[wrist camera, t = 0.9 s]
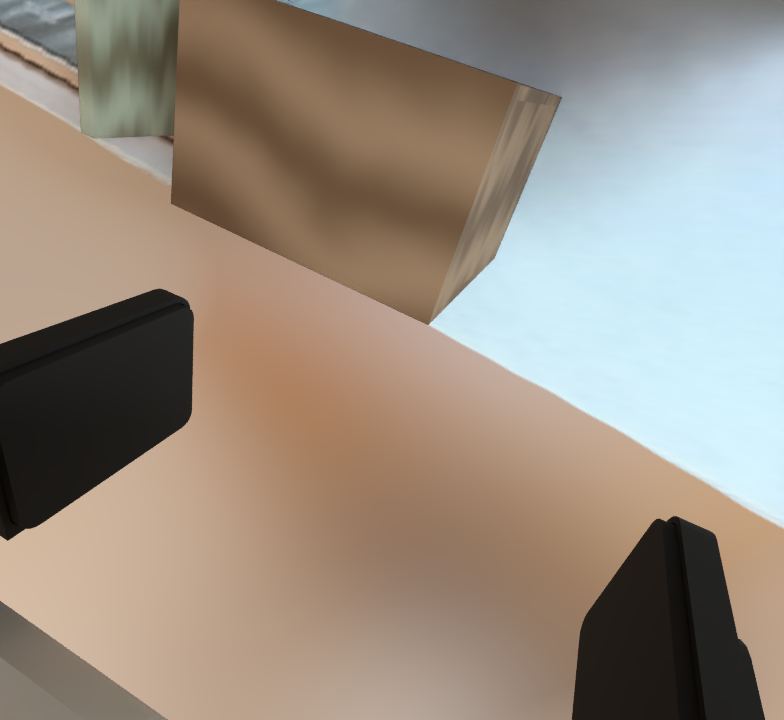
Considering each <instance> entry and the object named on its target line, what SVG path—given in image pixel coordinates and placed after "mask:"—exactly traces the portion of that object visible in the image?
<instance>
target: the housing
mask: <svg viewBox="0 0 784 720" xmlns="http://www.w3.org/2000/svg"><path fill="white" fill-rule="evenodd" d="M561 98H562V97H559V96H556V95H553V94H550V93H547V92H544V91H542V90H539V89H536V88H533V87H530V86H527V85H524V84H521V83H518V82H515V81H512V80H509V79H506V78H503V77H501V76H498V75H495V74H492V73H489V72H486V71H483V70H480V69H477V68H474V67H471V66H468V65H465V64H462V63H460V62H457V61H454V60H451V59H448V58H445V57H442V56H439V55H436V54H433V53H430V52H427V51H424V50H422V49H419V48H416V47H413V46H410V45H407V44H404V43H401V42H398V41H395V40H392V39H389V38H386V37H383V36H381V35H378V34H375V33H372V32H369V31H366V30H363V29H360V28H357V27H354V26H351V25H348V24H345V23H342V22H340V21H337V20H334V19H331V18H328V17H325V16H322V15H319V14H316V13H313V12H309V11H306V10H303V9H300V8H297V7H294V6H291V5H288V4H285V3H282V2H279V1H276V0H180V3H179V26H178V50H177V74H176V98H175V121H174V145H173V169H172V193H171V204H173V205H175V206H177V207H179V208H182V209H184V210H186V211H188V212H190V213H192V214H194V215H196V216H198V217H201V218H203V219H205V220H207V221H209V222H211V223H213V224H216V225H218V226H220V227H222V228H224V229H226V230H228V231H230V232H232V233H234V234H237V235H239V236H241V237H243V238H245V239H247V240H249V241H251V242H253V243H256V244H258V245H260V246H262V247H264V248H266V249H269V250H270V251H272V252H275V253H277V254H279V255H281V256H283V257H285V258H287V259H290V260H292V261H294V262H296V263H298V264H300V265H302V266H304V267H306V268H308V269H311V270H313V271H315V272H317V273H319V274H321V275H323V276H326V277H327V278H330V279H332V280H334V281H336V282H338V283H340V284H342V285H344V286H347V287H349V288H351V289H353V290H355V291H357V292H359V293H361V294H363V295H366V296H368V297H370V298H372V299H374V300H376V301H378V302H380V303H382V304H385V305H387V306H389V307H391V308H393V309H395V310H397V311H399V312H402V313H404V314H406V315H408V316H410V317H412V318H414V319H416V320H418V321H421V322H423V323H425V324H427V325H429V324H430V323H431V322H432V321H433V320H434V319H435V318H436V317H437V316H438V315H439V314H440V313H441V312H442V311H443V310H444V309H445V307H446V306H447V305H448V304H449V303H450V302H451V301H452V300H453V299H454V298H455V297H456V296H457V295H458V294H459V293H460V292H461V291H462V290H463V289H464V288H465V287H466V286H467V285H468V284H469V283H470V282H471V281H472V280H473V279H474V278H475V277H476V276H477V275H478V274H479V273H480V272H481V271H482V270H483V269H484V268H485V267H486V266H487V265H488V264H489V263H490V262H491V261H492V260H493V259H494V258H495V256H496V253H497V251H498V248H499V246H500V244H501V241H502V239H503V237H504V234H505V232H506V229H507V227H508V225H509V222H510V220H511V217H512V215H513V213H514V210H515V208H516V206H517V203H518V201H519V198H520V196H521V194H522V191H523V189H524V186H525V184H526V182H527V179H528V177H529V174H530V172H531V170H532V167H533V165H534V163H535V160H536V158H537V155H538V153H539V151H540V148H541V146H542V143H543V141H544V139H545V136H546V134H547V131H548V129H549V127H550V124H551V122H552V120H553V117H554V115H555V112H556V110H557V108H558V105H559V103H560V100H561Z"/></svg>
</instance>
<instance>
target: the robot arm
mask: <svg viewBox="0 0 784 720" xmlns="http://www.w3.org/2000/svg"><path fill="white" fill-rule="evenodd" d="M193 323H194V316H193V312H192V310H190V305H189V303H188V301H187V300H185V299H184V298H182V297H179V296H177V295H175V294H173V293H171V292H168V291H166V290H163V289H155V290H152V291H149V292H146V293H143V294H141V295H138V296H135V297H133V298H130V299H126V300H124V301H121V302H118V303H115V304H112V305H109V306H107V307H104V308H101V309H98V310H95V311H92V312H90V313H87V314H84V315H81V316H78V317H75V318H73V319H70V320H67V321H64V322H62V323H59V324H56V325H53V326H50V327H47V328H45V329H42V330H39V331H36V332H33V333H30V334H27V335H24V336H22V337H19V338H16V339H13V340H10V341H7V342H5V343H2V344H0V536H2V537H3V538H4V539H6V540H7V541H8V540H10V539H11V538H13V537H14V536H16V535H17V534H18V533H20V532H21V531H23V530H24V529H30V528H33V527H36V526H38V525H40V524H41V523H43V522H44V521H46V520H47V519H49V518H50V517H52V516H53V515H55V514H56V513H58V512H59V511H61V510H62V509H63V508H65V507H66V506H68V505H69V504H71V503H72V502H74V501H75V500H76V499H78V498H80V497H81V496H82V495H84V494H85V493H87V492H88V491H90V490H91V489H93V488H94V487H96V486H97V485H98V484H100V483H101V482H103V481H104V480H106V479H107V478H109V477H110V476H112V475H113V474H115V473H116V472H118V471H119V470H120V469H122V468H123V467H125V466H126V465H128V464H129V463H131V462H132V461H134V460H135V459H137V458H138V457H140V456H141V455H142V454H144V453H145V452H147V451H148V450H150V449H151V448H153V447H154V446H156V445H157V444H159V443H160V442H161V441H163V440H164V439H166V438H167V437H169V436H170V435H172V434H173V433H175V432H176V431H178V430H179V429H180V428H182V427H183V426H184V425H185V424H186V423H187V422H188V420H189V418H190V416H191V412H192V375H193V371H192V370H193V325H194V324H193ZM579 639H580V640H579V649H578V660H577V670H576V681H575V692H574V703H573V713H572V720H765V717H764V713H763V709H762V705H761V700H760V696H759V691H758V687H757V682H756V678H755V674H754V669H753V665H752V660H751V657H750V654H749V652H748V649H747V647H746V645H745V644H744V643H743V642H742V641H741V640H740V639H738V637H737V633H736V627H735V623H734V618H733V613H732V608H731V604H730V599H729V595H728V590H727V585H726V580H725V576H724V571H723V566H722V562H721V557H720V553H719V548H718V543H717V539H716V536H715V534H713V533H712V532H711V531H708V530H706V529H704V528H702V527H699V526H697V525H695V524H693V523H690V522H688V521H686V520H683V519H681V518H679V517H677V516H673V517H671V518H670V519H669V520H668V521H667V522H666V521H664V520H661V519H656V520H655V521H654V522H653V523H652V524H651V525H650V527H649V528H648V530H647V531H646V532H645V534H644V535H643V537H642V538H641V539H640V541H639V542H638V544H637V545H636V546H635V548H634V549H633V550H632V552H631V553H630V555H629V556H628V557H627V559H626V560H625V561H624V563H623V564H622V566H621V567H620V568H619V570H618V571H617V573H616V574H615V575H614V577H613V578H612V580H611V581H610V582H609V584H608V585H607V586H606V588H605V589H604V591H603V592H602V594H601V595H600V596H599V598H598V599H597V600H596V602H595V603H594V605H593V606H592V607H591V609H590V610H589V611H588V613H587V615H586V616H585V619H584V621H583V624H582V627H581V631H580V638H579ZM0 720H167V719H166V718H164V717H163V716H162V715H160V714H159V713H158V712H156V711H155V710H153V709H152V708H150V707H149V706H148V705H146V704H145V703H143V702H142V701H141V700H139V699H138V698H136V697H135V696H134V695H132V694H131V693H129V692H128V691H126V690H125V689H124V688H122V687H121V686H119V685H118V684H117V683H115V682H114V681H112V680H111V679H109V678H108V677H107V676H105V675H104V674H103V673H101V672H100V671H98V670H97V669H96V668H94V667H93V666H91V665H90V664H89V663H87V662H86V661H84V660H83V659H81V658H80V657H79V656H77V655H76V654H74V653H73V652H72V651H70V650H69V649H67V648H66V647H64V646H63V645H62V644H60V643H59V642H57V641H56V640H55V639H53V638H51V637H50V636H49V635H48V634H46V633H45V632H43V631H42V630H41V629H39V628H38V627H36V626H35V625H33V624H32V623H31V622H29V621H28V620H26V619H25V618H24V617H22V616H21V615H19V614H18V613H16V612H15V611H13V610H12V609H11V608H9V607H8V606H7V605H5V604H4V603H2V602H1V601H0Z"/></svg>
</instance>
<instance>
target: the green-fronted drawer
mask: <svg viewBox="0 0 784 720" xmlns="http://www.w3.org/2000/svg"><path fill="white" fill-rule="evenodd" d="M179 3H180V0H74V4H75V23H76V42H77V62H78V81H79V100H80V120H81V133H83V134H85V135H88V136H90V137H92V138H114V137H142V136H170V135H174V121H175V98H176V74H177V50H178V26H179Z"/></svg>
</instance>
